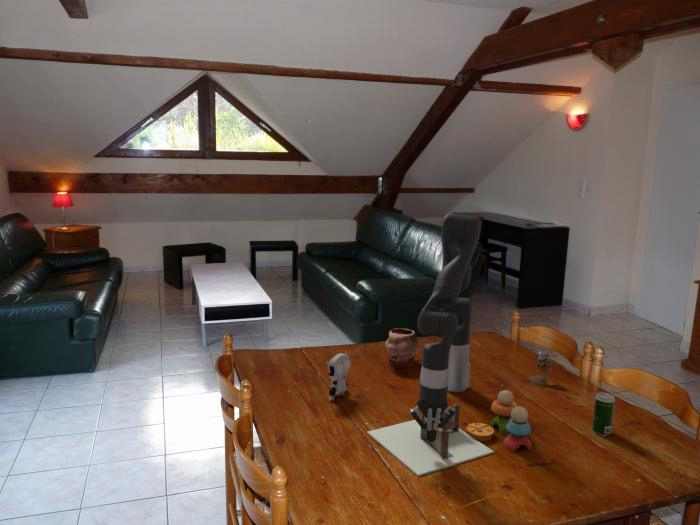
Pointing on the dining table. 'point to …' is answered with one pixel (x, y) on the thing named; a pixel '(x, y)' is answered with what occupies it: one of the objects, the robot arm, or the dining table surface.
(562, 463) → the dining table surface
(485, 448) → the board
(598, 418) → the beer can
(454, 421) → the fence fixed
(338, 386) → the robot toy
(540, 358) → the robot figurine
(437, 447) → the panel
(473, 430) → the set of stacked toys
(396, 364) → the decorative planter
